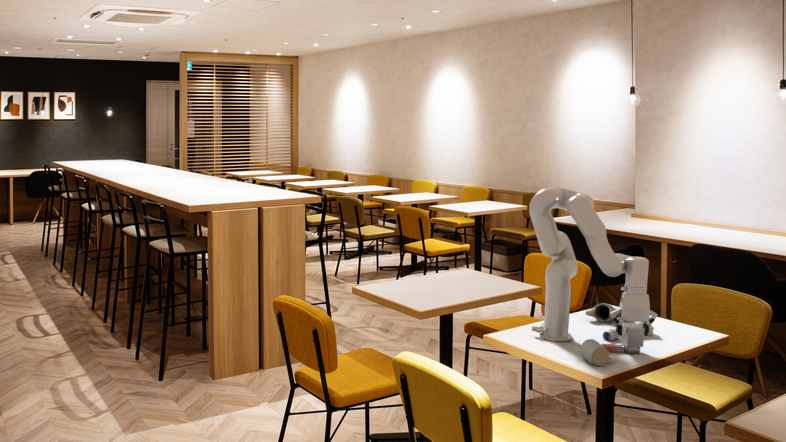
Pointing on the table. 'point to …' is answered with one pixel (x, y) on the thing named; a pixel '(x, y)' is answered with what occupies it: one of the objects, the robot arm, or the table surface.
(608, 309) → the grey clay vessel
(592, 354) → the ceramic mug
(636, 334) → the brushed grey cube
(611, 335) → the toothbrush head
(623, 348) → the ratchet
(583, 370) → the table surface
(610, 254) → the robot arm
